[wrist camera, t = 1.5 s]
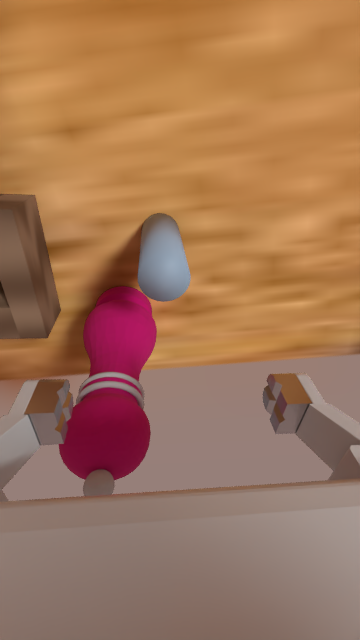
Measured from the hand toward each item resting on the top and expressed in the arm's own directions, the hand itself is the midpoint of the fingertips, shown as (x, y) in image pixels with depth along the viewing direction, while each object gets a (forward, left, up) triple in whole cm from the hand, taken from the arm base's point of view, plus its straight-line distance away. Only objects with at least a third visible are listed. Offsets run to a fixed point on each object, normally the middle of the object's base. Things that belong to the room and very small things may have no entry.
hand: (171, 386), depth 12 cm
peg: (0, 0, -20) cm, 20 cm away
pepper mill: (+9, -4, -20) cm, 22 cm away
